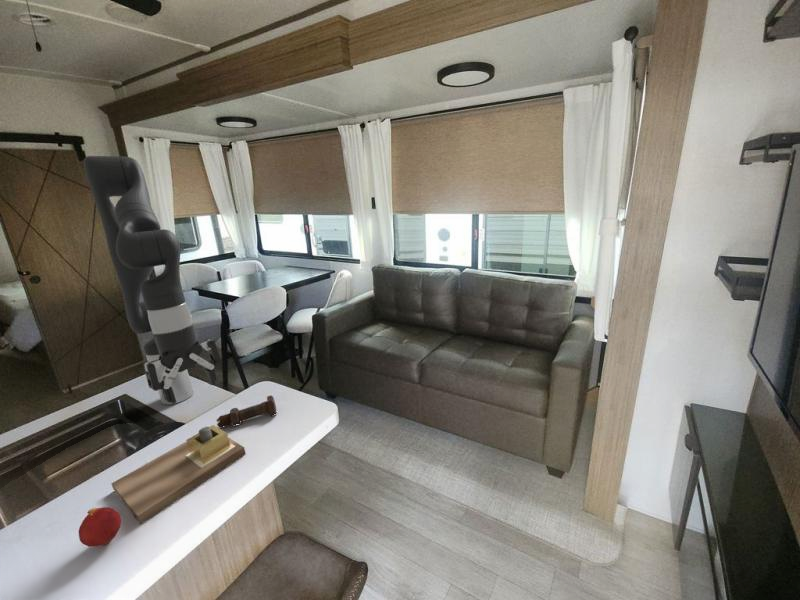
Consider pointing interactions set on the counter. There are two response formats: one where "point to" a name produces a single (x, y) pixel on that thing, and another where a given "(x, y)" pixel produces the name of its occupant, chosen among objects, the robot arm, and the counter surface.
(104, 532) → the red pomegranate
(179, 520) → the counter surface
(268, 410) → the bolt
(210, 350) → the robot arm
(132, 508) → the post board
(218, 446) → the collar
